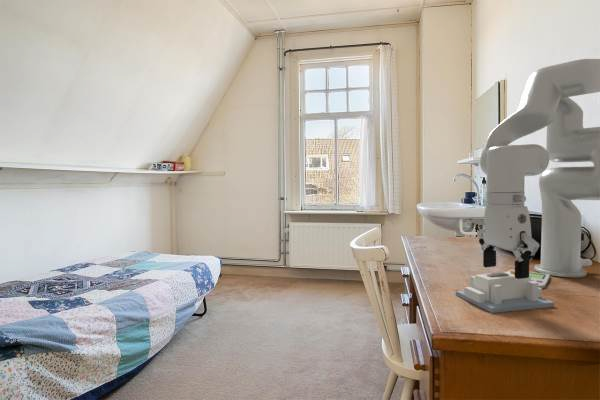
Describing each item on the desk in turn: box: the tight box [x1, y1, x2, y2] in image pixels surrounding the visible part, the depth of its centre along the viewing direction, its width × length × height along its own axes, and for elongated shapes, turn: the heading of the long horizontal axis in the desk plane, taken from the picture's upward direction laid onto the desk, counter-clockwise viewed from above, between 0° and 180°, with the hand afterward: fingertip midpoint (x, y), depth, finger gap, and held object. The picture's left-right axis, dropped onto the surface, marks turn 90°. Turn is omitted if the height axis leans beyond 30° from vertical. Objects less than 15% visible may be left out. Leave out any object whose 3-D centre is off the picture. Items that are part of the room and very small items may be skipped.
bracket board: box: [455, 275, 555, 314], centre depth 82 cm, size 16×12×5 cm
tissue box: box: [474, 269, 531, 302], centre depth 82 cm, size 12×4×6 cm, turn 106°
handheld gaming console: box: [507, 268, 551, 289], centre depth 98 cm, size 10×2×15 cm
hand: (504, 272), depth 82 cm, fingers open, 9 cm apart
